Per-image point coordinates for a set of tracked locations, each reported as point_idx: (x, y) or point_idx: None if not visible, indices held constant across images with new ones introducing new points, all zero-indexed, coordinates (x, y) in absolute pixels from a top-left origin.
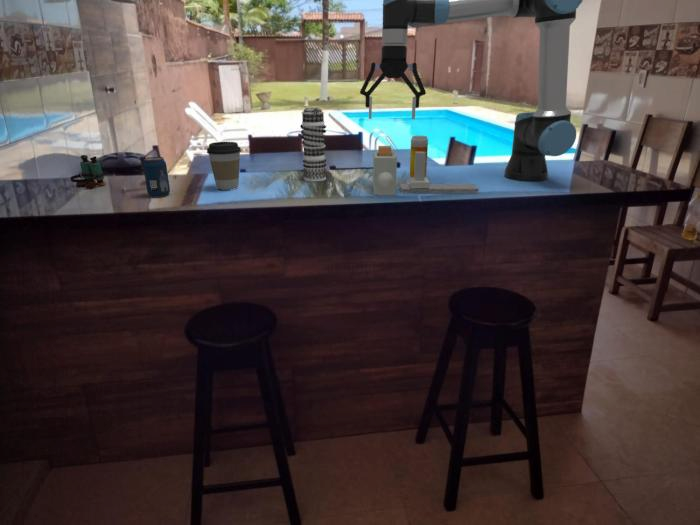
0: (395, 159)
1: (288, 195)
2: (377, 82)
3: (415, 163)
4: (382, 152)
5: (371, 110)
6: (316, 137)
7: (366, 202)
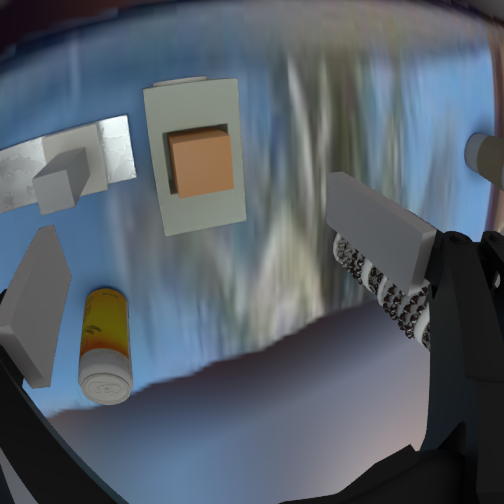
0: (149, 88)
1: (400, 85)
2: (484, 332)
3: (77, 170)
4: (209, 134)
5: (359, 190)
6: None
7: (225, 9)
